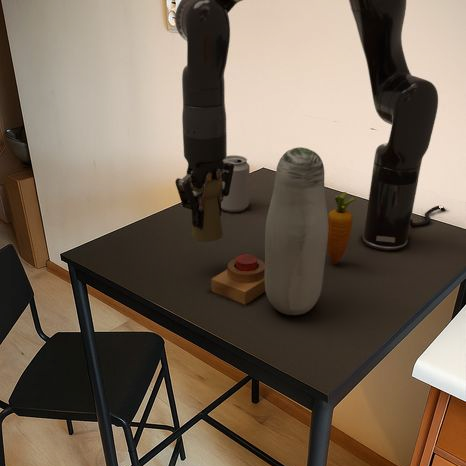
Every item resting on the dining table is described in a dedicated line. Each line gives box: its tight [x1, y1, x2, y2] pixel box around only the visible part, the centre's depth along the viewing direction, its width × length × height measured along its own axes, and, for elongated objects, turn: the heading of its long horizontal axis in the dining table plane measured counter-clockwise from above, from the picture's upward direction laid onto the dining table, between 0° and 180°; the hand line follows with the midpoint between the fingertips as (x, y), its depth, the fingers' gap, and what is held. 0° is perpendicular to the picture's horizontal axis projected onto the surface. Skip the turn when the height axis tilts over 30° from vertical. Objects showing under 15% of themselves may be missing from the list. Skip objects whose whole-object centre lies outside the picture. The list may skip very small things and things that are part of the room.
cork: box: [190, 179, 224, 243], centre depth 109 cm, size 6×6×11 cm
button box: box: [210, 258, 266, 305], centre depth 111 cm, size 8×11×4 cm
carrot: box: [327, 191, 356, 266], centre depth 115 cm, size 5×5×15 cm
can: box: [221, 154, 251, 213], centre depth 141 cm, size 8×8×12 cm
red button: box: [236, 253, 258, 271], centre depth 109 cm, size 4×4×2 cm
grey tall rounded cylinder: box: [264, 147, 329, 316], centre depth 97 cm, size 10×10×28 cm
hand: (207, 223), depth 111 cm, fingers closed on cork, 4 cm apart
